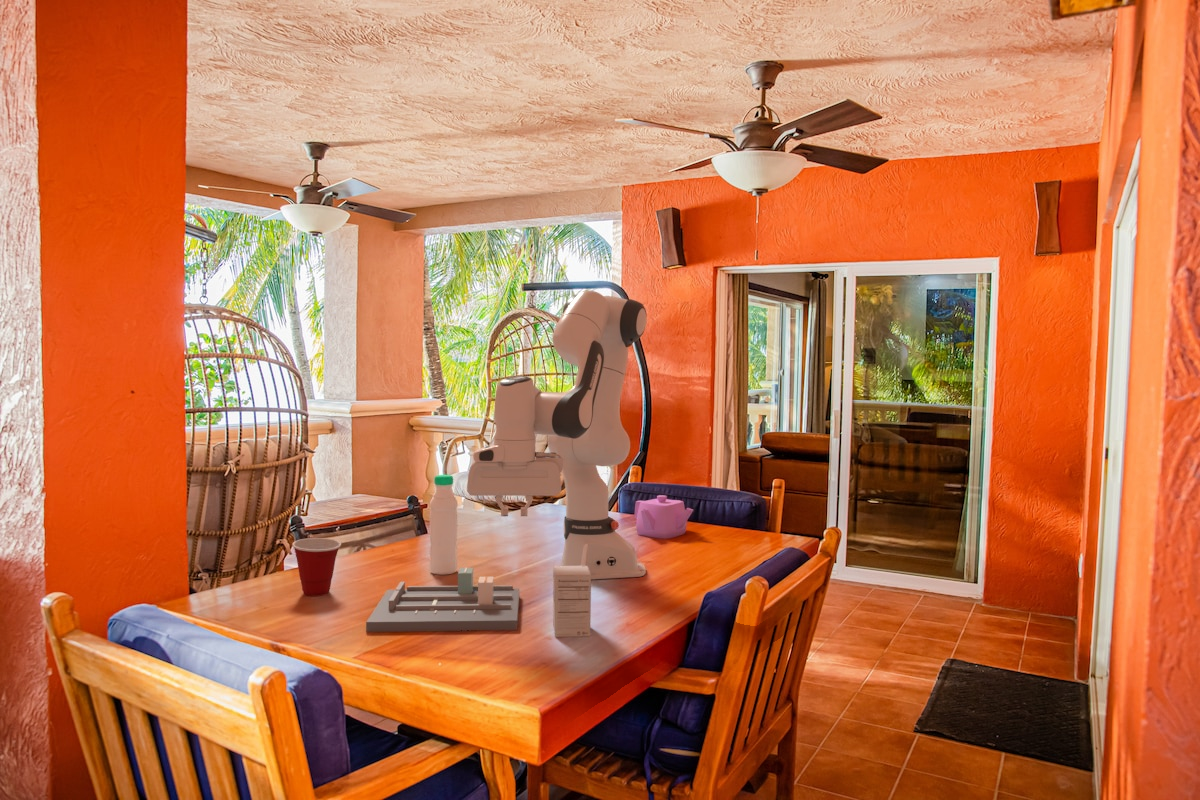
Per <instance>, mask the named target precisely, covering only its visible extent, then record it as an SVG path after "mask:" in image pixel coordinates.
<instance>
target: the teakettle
mask: <svg viewBox="0 0 1200 800" xmlns="http://www.w3.org/2000/svg"><path fill="white" fill-rule="evenodd" d="M634 503H635V506H634V517H633V518H634V519H636V523H635V528H636V533H637V535H638V536H642V537H647V538H654V539H655V538H656V539H661V540H667V539H672V538H677V537H679V536H681V535H684V534H685V533H686V530H687V526H688V525H687V523H688V519H689V518H690V516H691V515H692V513H693V512H694V509H692V508H690V507H687V508H686V507H685V504H684V501H683V500H679V499H678V500H677V499H669V498H668V495H663V494H662V495H661V494H659V495H657V496H656V498H652V499H648V500H637V501H635V502H634Z"/></svg>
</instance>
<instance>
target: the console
mask: <svg viewBox="0 0 1200 800" xmlns="http://www.w3.org/2000/svg"><path fill="white" fill-rule="evenodd" d="M519 605H520V588H514V586H513V585H512V584H511V585H505V584H504V585H494V584H493V604H478V585H473V592H472V594H458V585H408V586H406V581H399V583H398V584H397V586H396V587H395V589H387V590H386V591H385V593H384V595H383V596H382V597H381V599H380V601H379V602H378V603H377V605H376V607H375V608H374V609H373V611H372V613H371V614H370V616H369V617H368V618H367V620H366V622H365V623H366V624H365V625H366V626H365V629H366V630H365V632H366V633H378V632H379V633H384V632H385V633H386V632H387V633H388V632H390V633H393V632H395V633H396V632H397V633H398V632H400V633H402V632H458V631H459V632H465V631H466V632H467V630H469V631H470V632H473V631H474V630H477V632H478V630H489V631H517V630H518V621H519V620H518V619H519ZM461 630H462V631H461ZM471 630H473V631H471ZM469 631H468V632H469Z"/></svg>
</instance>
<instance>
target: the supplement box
mask: <svg viewBox="0 0 1200 800" xmlns="http://www.w3.org/2000/svg"><path fill="white" fill-rule="evenodd" d="M552 571H553V572H552V573H553V584H552V585H553V588H552V589H553V590H552V591H553V593H552V595H553V597H552V598H553V599H552V600H553V603H552V604H553V605H552V608H553V610H552V623H553V624H552V625H553V629H554V630H553V631H554V632H553V633H554V637H555V638H557V637H558V638H573V637H575V638H576V637H577V638H579V637H582V638H583V637H591V613H592V610H591V606H592V604H591V603H592V600H591V599H592V579H591V574H590V571H589V568H588V566H560V565H554V566H553V570H552Z"/></svg>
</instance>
